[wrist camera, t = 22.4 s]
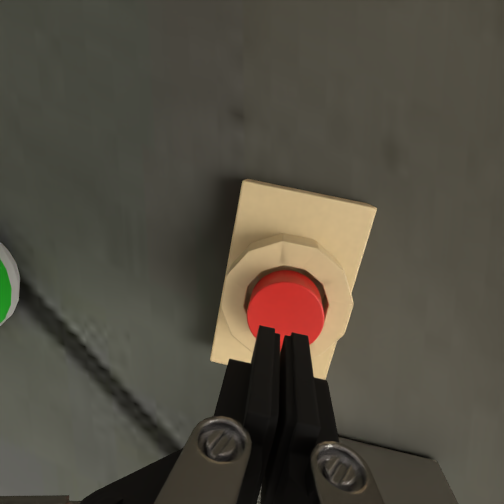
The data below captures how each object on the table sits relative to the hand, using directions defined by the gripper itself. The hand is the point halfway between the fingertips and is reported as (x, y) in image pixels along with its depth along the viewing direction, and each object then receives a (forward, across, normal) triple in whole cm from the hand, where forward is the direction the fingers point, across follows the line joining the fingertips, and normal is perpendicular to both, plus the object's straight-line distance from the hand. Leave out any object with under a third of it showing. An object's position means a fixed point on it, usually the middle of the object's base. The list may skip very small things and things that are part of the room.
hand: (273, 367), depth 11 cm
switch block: (+9, -1, 0) cm, 9 cm away
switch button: (+6, -1, 0) cm, 6 cm away
